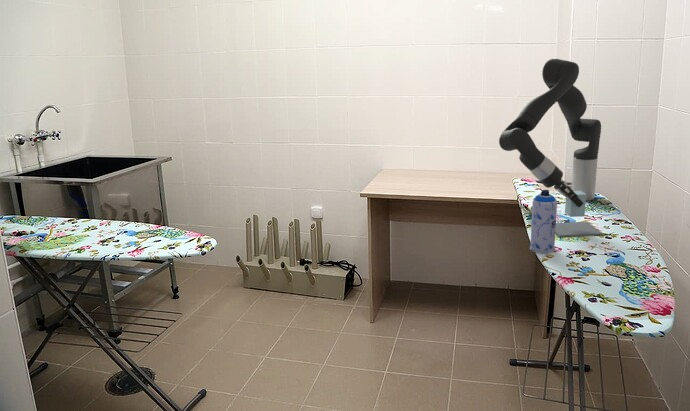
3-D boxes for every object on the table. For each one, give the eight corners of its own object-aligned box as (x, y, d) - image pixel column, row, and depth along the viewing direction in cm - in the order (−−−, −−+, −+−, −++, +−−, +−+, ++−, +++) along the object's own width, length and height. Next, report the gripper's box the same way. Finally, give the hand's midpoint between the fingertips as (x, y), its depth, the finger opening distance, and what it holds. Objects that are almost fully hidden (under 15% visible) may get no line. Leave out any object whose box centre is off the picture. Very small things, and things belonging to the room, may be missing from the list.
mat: (546, 225, 210) (546, 223, 210) (587, 223, 210) (587, 221, 210) (559, 237, 197) (559, 235, 197) (602, 234, 197) (602, 233, 197)
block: (564, 212, 204) (566, 191, 202) (578, 212, 204) (580, 190, 202) (570, 216, 199) (571, 194, 197) (584, 216, 199) (586, 194, 197)
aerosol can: (551, 254, 182) (555, 194, 176) (526, 251, 186) (529, 192, 181) (557, 247, 188) (560, 188, 183) (533, 243, 193) (535, 186, 187)
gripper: (561, 168, 190) (594, 201, 193) (546, 159, 203) (577, 190, 207) (544, 184, 191) (578, 216, 195) (531, 174, 205) (562, 205, 208)
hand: (577, 203), depth 201 cm, fingers closed on block, 5 cm apart
